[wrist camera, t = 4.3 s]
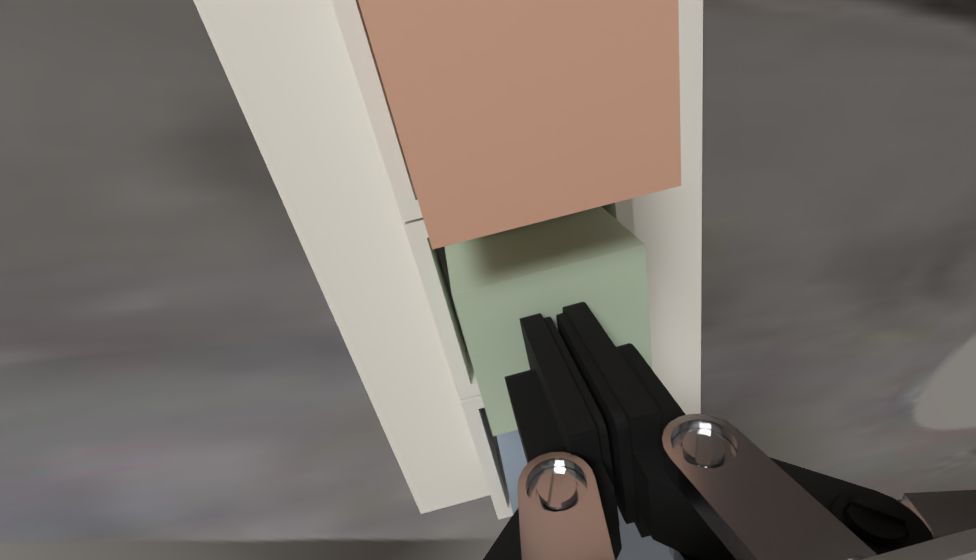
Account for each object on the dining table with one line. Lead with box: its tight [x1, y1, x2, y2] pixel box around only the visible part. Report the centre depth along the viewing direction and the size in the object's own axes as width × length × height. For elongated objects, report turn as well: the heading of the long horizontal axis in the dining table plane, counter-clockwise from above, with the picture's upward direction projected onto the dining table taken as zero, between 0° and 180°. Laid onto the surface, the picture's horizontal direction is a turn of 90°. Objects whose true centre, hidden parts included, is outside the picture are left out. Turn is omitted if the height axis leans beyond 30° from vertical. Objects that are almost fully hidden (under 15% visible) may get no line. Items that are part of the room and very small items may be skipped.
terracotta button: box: [358, 0, 681, 249], centre depth 9 cm, size 5×5×5 cm
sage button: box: [444, 206, 652, 436], centre depth 14 cm, size 5×5×5 cm
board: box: [194, 0, 703, 520], centre depth 16 cm, size 14×24×4 cm, turn 12°
